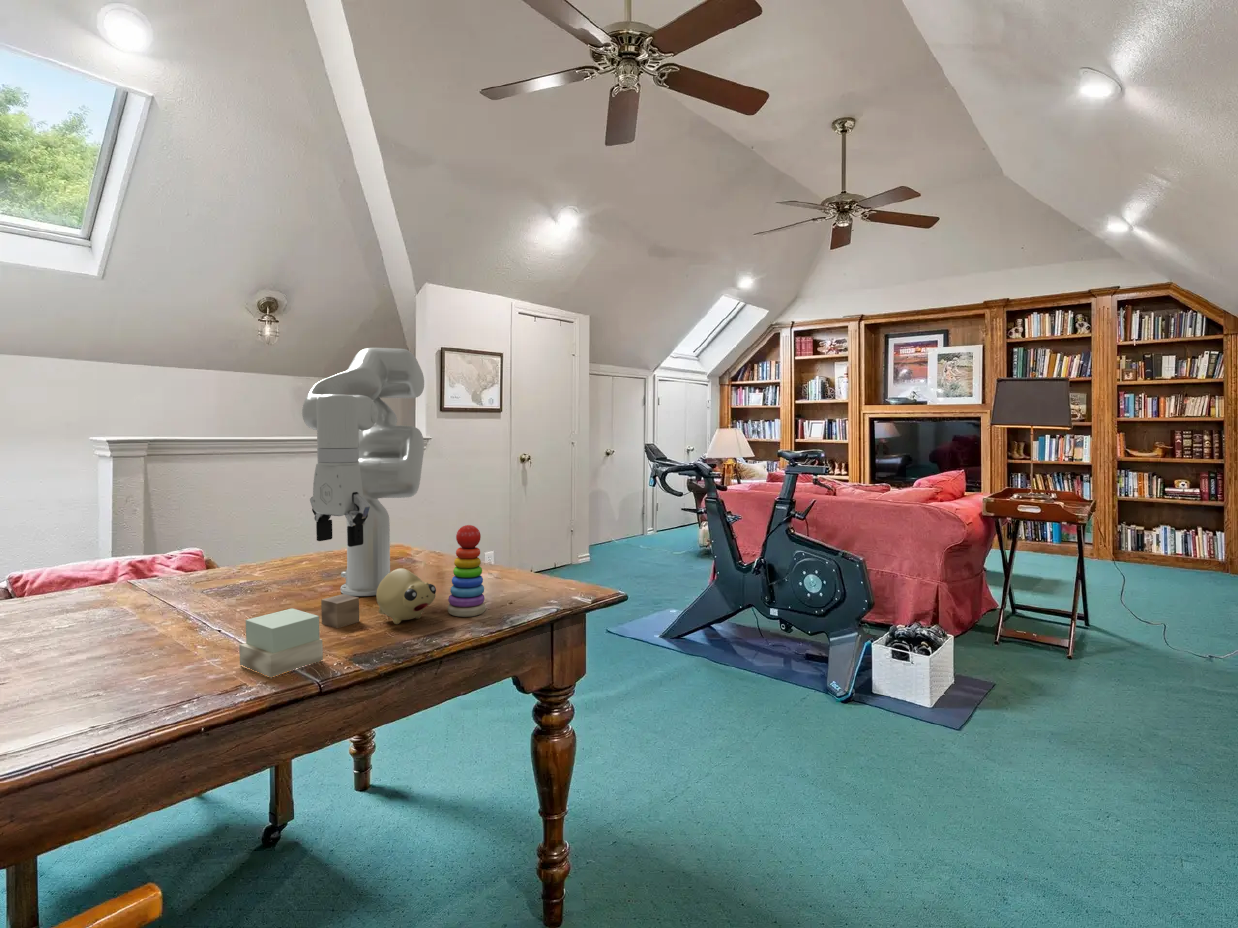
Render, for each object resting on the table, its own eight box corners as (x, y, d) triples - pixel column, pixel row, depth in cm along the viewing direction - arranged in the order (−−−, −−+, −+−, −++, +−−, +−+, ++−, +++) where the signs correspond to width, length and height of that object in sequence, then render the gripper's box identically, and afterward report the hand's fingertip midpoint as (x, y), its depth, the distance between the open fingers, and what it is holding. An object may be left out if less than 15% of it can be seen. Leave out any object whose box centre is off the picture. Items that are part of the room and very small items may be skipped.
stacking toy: (476, 619, 134) (476, 529, 133) (440, 616, 136) (440, 527, 134) (491, 608, 142) (491, 523, 140) (457, 605, 143) (457, 521, 142)
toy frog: (404, 633, 125) (404, 578, 124) (367, 621, 132) (366, 569, 131) (445, 620, 133) (444, 569, 132) (407, 610, 140) (407, 561, 139)
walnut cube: (321, 624, 130) (321, 599, 130) (343, 617, 134) (343, 593, 134) (337, 628, 127) (336, 603, 127) (359, 621, 132) (359, 597, 131)
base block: (239, 668, 108) (239, 644, 107) (291, 651, 115) (291, 629, 115) (271, 680, 103) (270, 655, 103) (322, 662, 111) (322, 639, 110)
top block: (246, 643, 108) (245, 619, 108) (292, 630, 115) (292, 608, 114) (273, 653, 104) (272, 628, 103) (319, 639, 110) (319, 615, 110)
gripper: (294, 456, 130) (296, 541, 131) (349, 460, 121) (351, 551, 122) (328, 454, 136) (329, 535, 137) (383, 458, 127) (384, 544, 128)
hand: (339, 542), depth 130 cm, fingers open, 9 cm apart
